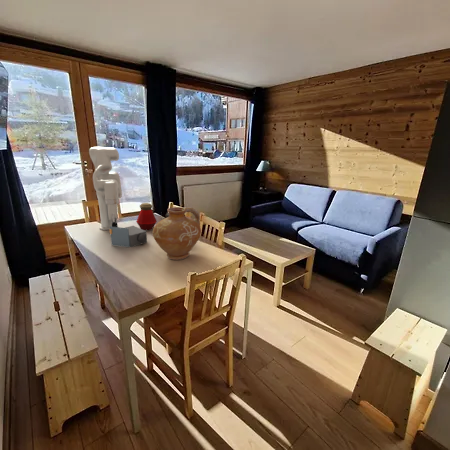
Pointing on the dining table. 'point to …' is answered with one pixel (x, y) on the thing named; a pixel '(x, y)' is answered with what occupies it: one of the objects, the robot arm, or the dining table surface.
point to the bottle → (146, 217)
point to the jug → (178, 232)
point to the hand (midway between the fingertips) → (115, 228)
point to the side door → (120, 236)
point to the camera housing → (136, 236)
